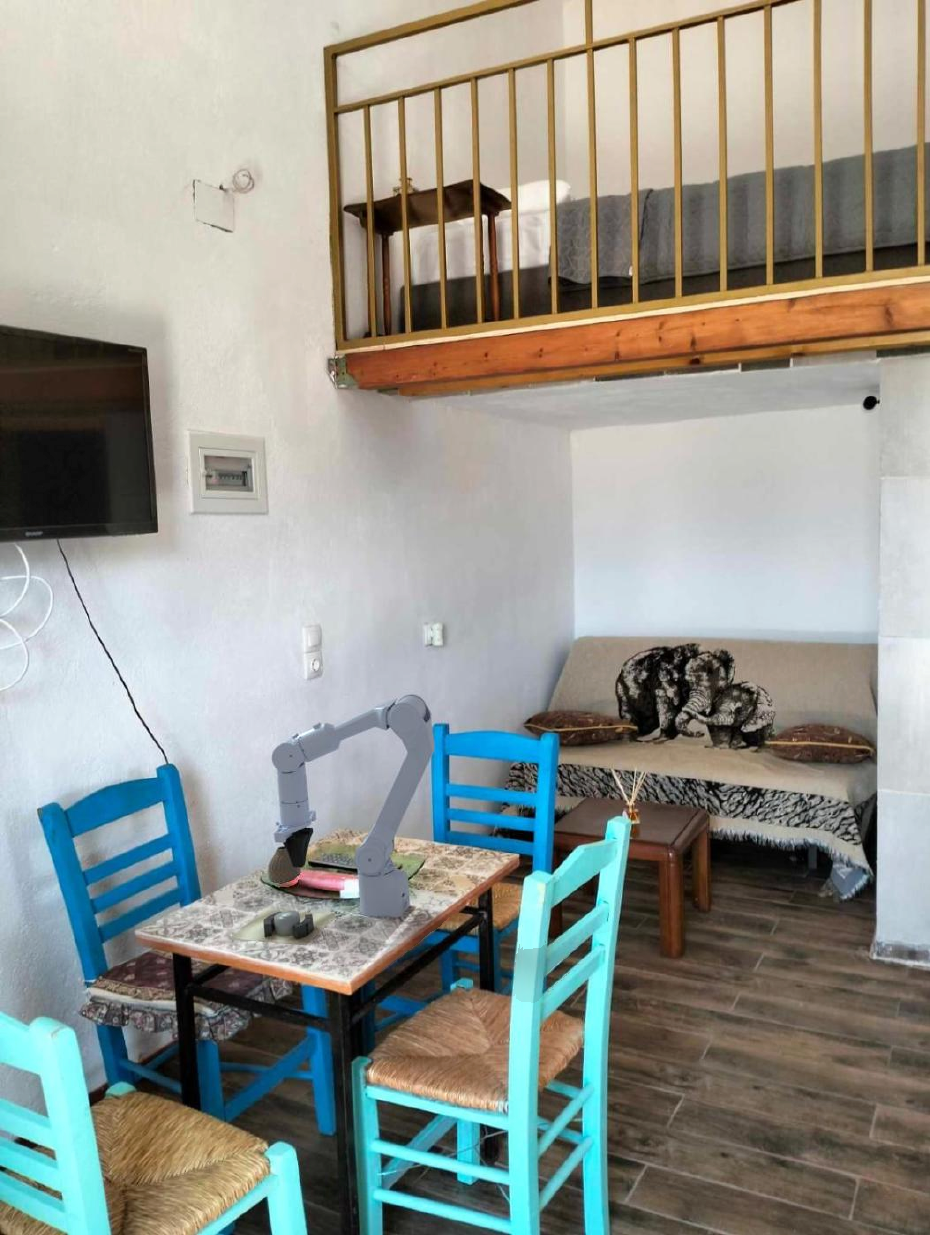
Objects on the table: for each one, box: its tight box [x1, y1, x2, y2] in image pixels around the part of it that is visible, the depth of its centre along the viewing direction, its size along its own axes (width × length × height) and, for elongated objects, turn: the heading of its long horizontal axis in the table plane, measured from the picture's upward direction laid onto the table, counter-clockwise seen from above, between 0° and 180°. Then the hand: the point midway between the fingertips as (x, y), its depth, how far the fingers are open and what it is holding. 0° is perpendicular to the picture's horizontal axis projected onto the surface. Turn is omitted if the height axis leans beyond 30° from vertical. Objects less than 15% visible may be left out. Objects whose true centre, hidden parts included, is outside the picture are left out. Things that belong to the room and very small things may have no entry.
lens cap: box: [274, 910, 300, 936], centre depth 188 cm, size 5×5×3 cm
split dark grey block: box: [263, 912, 314, 940], centre depth 188 cm, size 9×6×2 cm
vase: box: [267, 845, 302, 884], centre depth 214 cm, size 7×7×9 cm
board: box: [228, 909, 339, 946], centre depth 191 cm, size 16×14×1 cm
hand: (298, 866), depth 198 cm, fingers closed
